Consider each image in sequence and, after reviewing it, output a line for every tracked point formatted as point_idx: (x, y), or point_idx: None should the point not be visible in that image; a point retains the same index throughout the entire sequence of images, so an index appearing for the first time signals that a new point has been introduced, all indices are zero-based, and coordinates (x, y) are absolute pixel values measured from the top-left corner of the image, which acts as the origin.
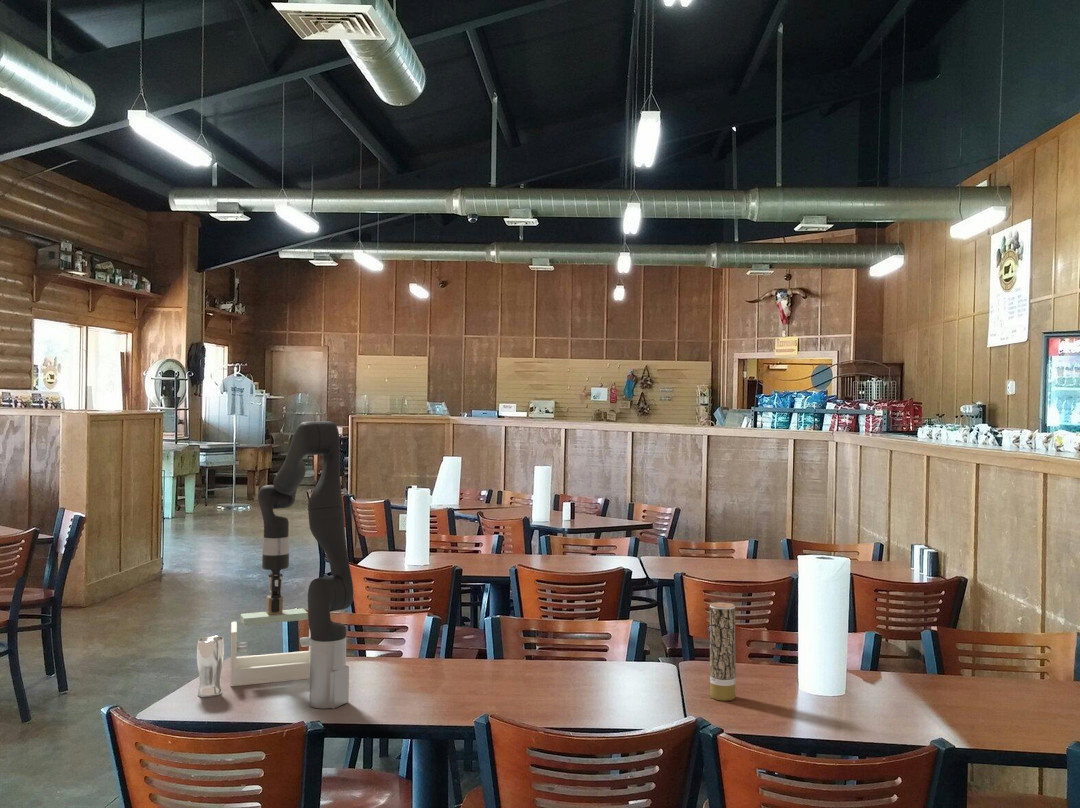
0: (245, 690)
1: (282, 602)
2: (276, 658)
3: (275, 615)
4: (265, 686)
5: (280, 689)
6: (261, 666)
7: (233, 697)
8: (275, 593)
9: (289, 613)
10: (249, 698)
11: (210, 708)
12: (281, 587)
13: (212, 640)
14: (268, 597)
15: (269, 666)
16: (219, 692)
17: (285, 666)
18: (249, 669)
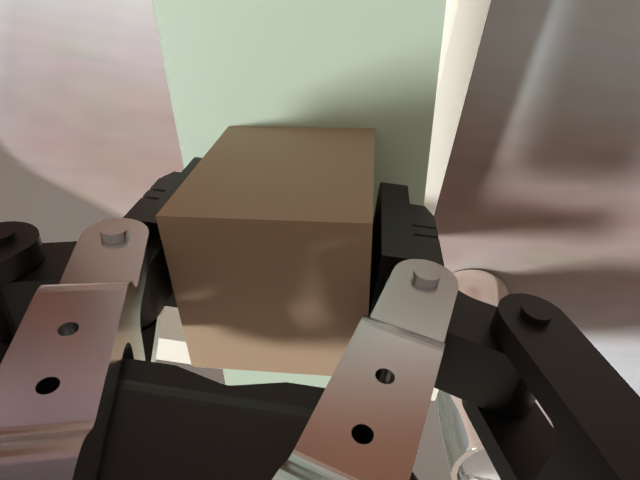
0: (501, 198)
1: (373, 186)
2: None
3: (410, 202)
4: (497, 121)
5: (588, 67)
6: (433, 154)
7: (561, 245)
8: (147, 286)
9: (383, 49)
10: (617, 201)
11: (629, 316)
12: (434, 380)
13: (454, 443)
14: (325, 373)
15: (456, 119)
16: (499, 282)
17: (480, 33)
18: (435, 203)
